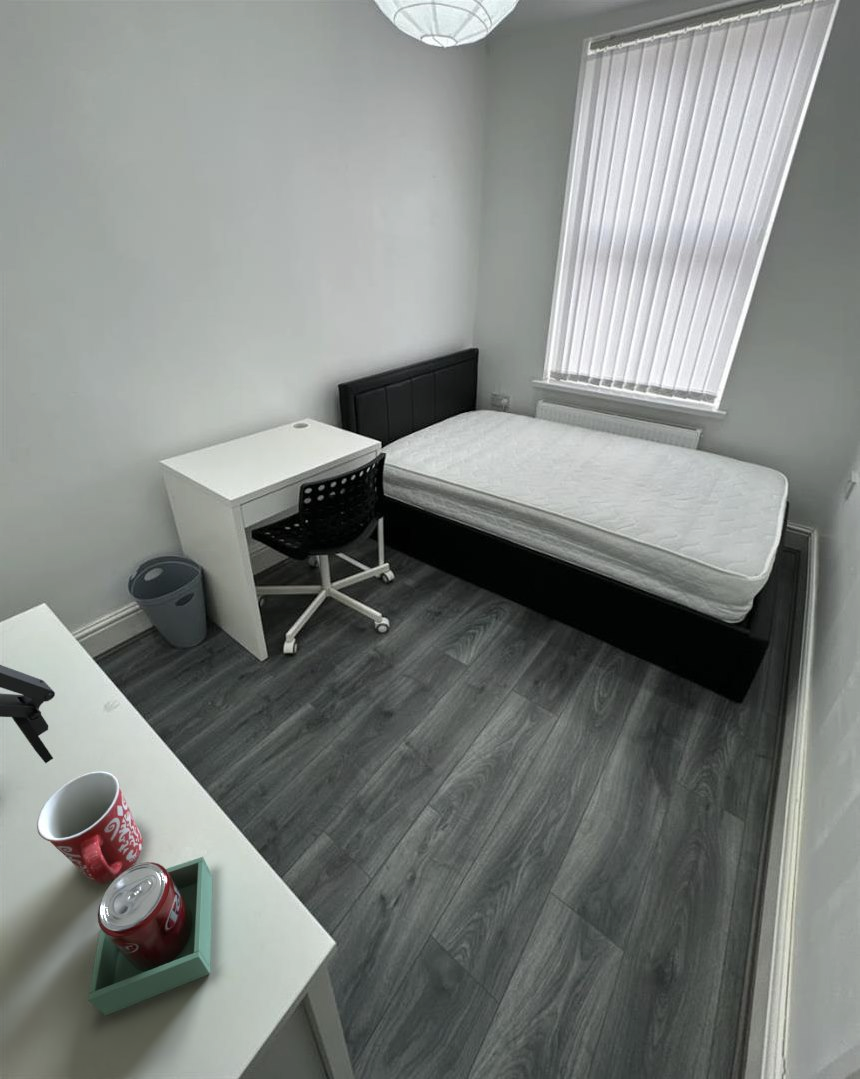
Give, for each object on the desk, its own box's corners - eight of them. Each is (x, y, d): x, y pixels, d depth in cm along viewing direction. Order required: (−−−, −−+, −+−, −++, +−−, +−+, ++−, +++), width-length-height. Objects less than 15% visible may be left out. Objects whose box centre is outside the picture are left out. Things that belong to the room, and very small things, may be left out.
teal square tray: (122, 906, 64) (108, 887, 61) (212, 875, 67) (203, 856, 64) (105, 1015, 55) (87, 1000, 52) (210, 973, 58) (198, 956, 55)
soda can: (137, 990, 56) (102, 952, 50) (124, 931, 61) (90, 889, 54) (201, 941, 60) (176, 900, 54) (184, 890, 65) (159, 846, 58)
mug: (74, 846, 70) (35, 795, 62) (143, 810, 74) (114, 758, 67) (82, 933, 61) (38, 885, 54) (159, 886, 66) (128, 836, 58)
